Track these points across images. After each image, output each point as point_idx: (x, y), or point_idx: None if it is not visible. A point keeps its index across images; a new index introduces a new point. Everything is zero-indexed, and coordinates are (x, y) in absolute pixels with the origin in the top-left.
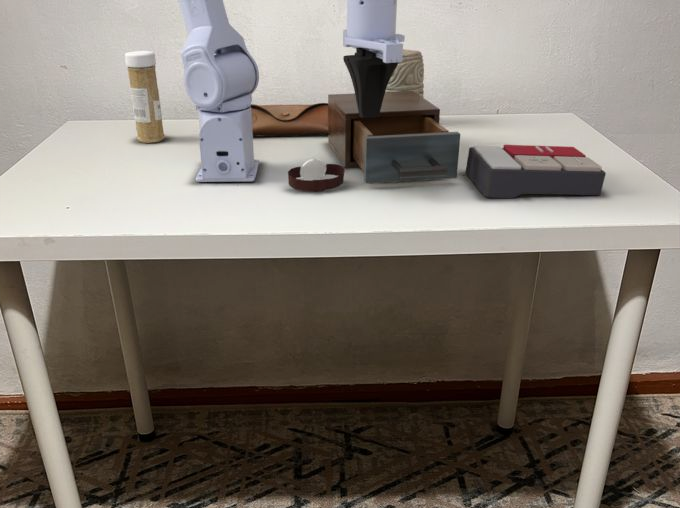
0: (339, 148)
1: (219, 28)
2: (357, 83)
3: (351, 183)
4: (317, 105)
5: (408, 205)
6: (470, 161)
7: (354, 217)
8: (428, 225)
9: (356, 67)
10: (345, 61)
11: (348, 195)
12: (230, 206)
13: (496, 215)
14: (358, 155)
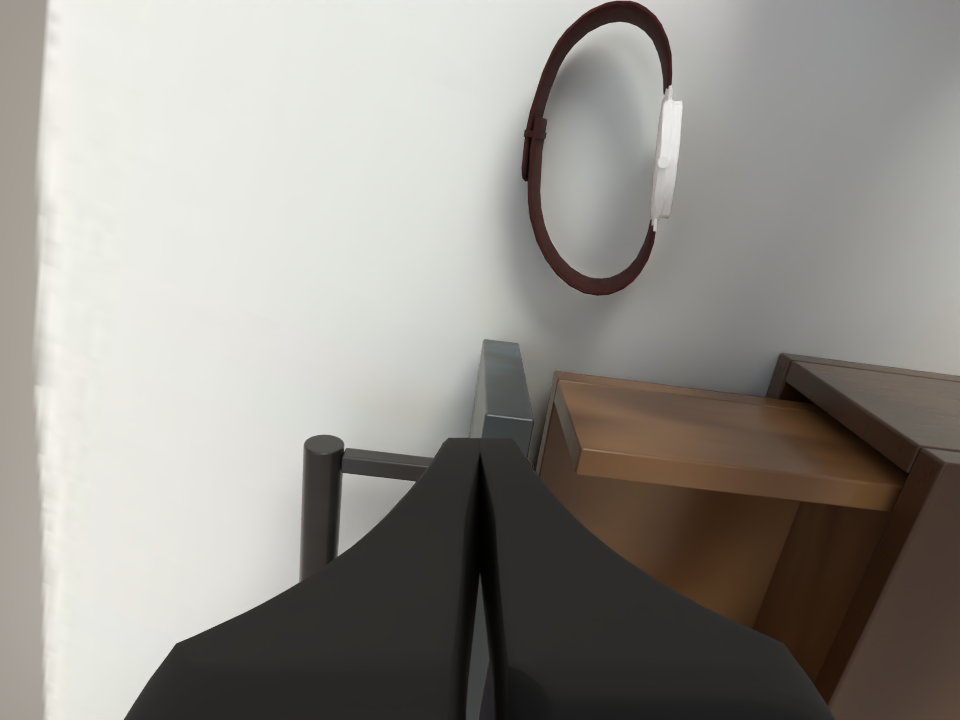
0: (930, 385)
1: None
2: (435, 545)
3: (586, 311)
4: None
5: (289, 408)
6: (493, 710)
7: (203, 187)
8: (91, 394)
9: (214, 641)
10: (695, 649)
11: (451, 251)
12: None
13: (152, 593)
14: (719, 405)
